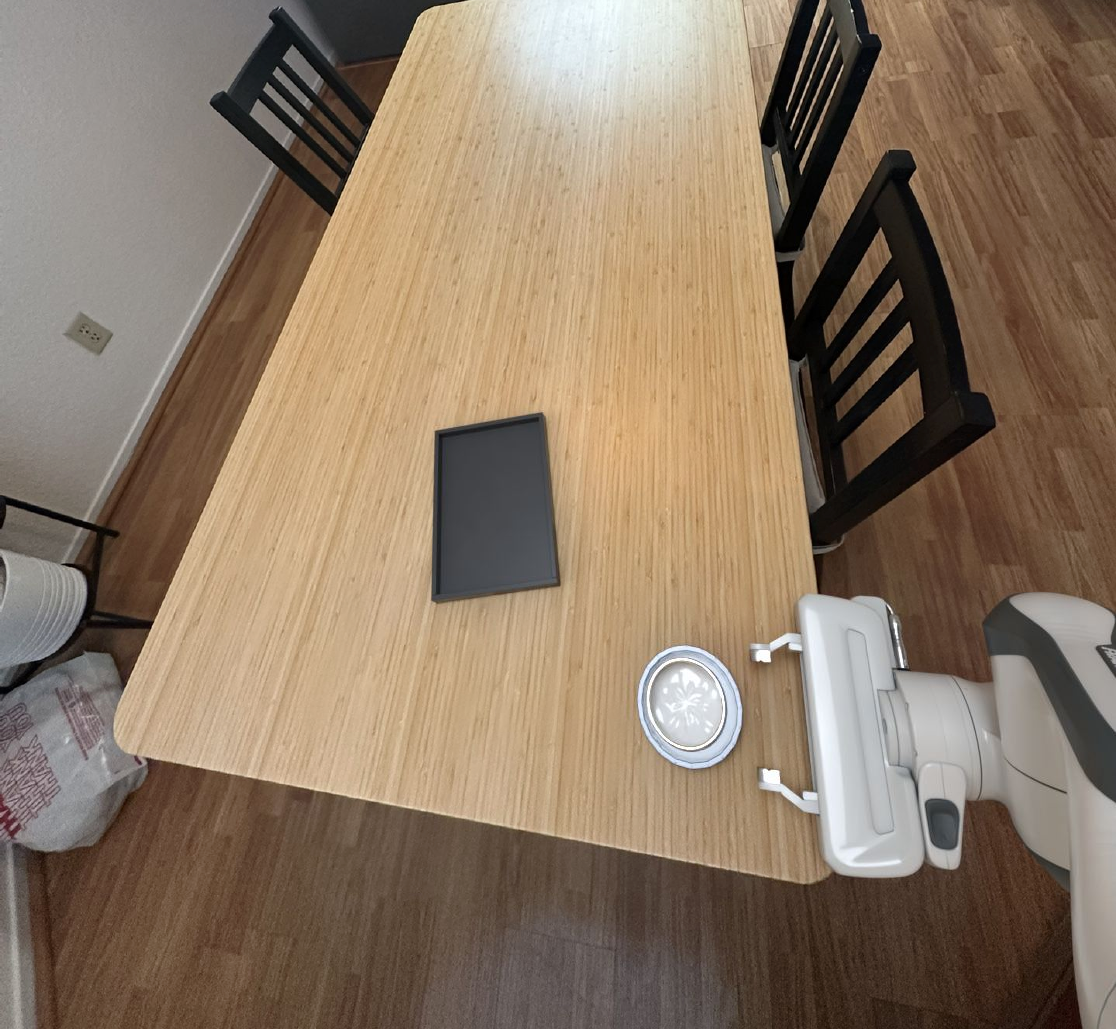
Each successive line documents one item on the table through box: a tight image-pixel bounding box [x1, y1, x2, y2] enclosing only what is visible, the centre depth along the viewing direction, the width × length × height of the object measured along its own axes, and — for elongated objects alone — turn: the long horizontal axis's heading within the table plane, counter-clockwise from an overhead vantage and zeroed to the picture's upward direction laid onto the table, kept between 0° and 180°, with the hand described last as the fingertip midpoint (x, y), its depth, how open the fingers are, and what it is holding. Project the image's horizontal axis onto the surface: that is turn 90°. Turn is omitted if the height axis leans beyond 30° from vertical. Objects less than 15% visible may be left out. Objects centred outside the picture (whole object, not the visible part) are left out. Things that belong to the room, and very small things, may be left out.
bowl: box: [636, 644, 744, 771], centre depth 63 cm, size 10×10×4 cm
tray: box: [430, 411, 561, 604], centre depth 80 cm, size 21×15×2 cm
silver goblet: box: [646, 657, 727, 752], centre depth 58 cm, size 7×7×15 cm
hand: (753, 712), depth 57 cm, fingers open, 8 cm apart
